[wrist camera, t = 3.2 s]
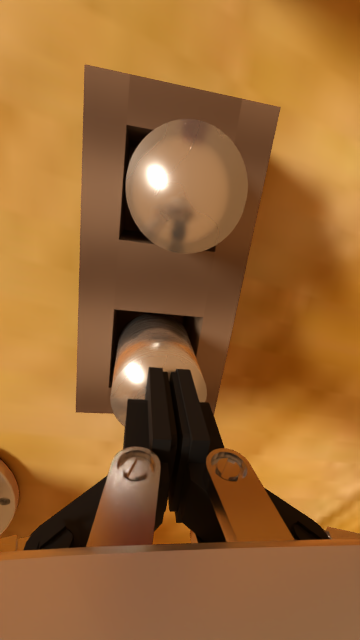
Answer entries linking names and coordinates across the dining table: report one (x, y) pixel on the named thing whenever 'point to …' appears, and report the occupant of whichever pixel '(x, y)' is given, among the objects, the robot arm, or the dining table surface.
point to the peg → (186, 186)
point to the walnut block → (136, 249)
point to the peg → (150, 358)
